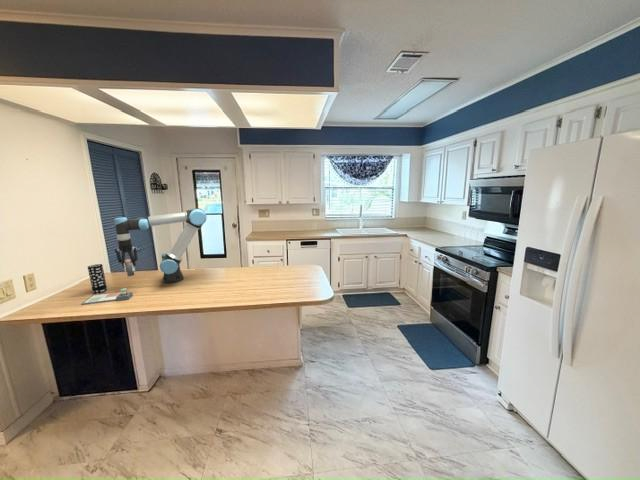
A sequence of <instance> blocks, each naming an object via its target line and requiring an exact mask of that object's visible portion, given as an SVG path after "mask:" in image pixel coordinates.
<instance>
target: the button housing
mask: <svg viewBox="0 0 640 480" xmlns="http://www.w3.org/2000/svg"><path fill="white" fill-rule="evenodd" d="M126 294H127V295H122V293H120V294H119V295H118V296H117V297H116V299H117V301H116V302H121V301H129V300H131V299H132V298H133V296H134V294H133V291H126Z"/></svg>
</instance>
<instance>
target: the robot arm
mask: <svg viewBox="0 0 640 480" xmlns="http://www.w3.org/2000/svg"><path fill="white" fill-rule="evenodd" d="M206 221H207V213H206V212H205V210H203V209H202V208H200V207H199V208H198V207H197V208H192V209H188V210H184V211H182V212H174V213H166V214H160V215H159V214H158V215H151V216H149V215H148V216H139V217H137V218H136V219H128V218H127V217H125V216H124V217H116V218H114V219H113V222H114V223H113V224H114V229H115V234H116V239H117V244H118V247H117V248H115V249H114V252H115V253H116V258H117V261H118V263H120V264H121V266H122V268H124V272H125V273H127V270H126V264H125V259H126V253H127V254H128V256H129V259H131V260H132V262H131V265H132V271H134V272H135V271H136V266H137V265H136V262H137V261H138V260H139V257H138V252H137V250H138V247H137V246H136V247H135V246H133V244H132V239H131V234H130V232H131V231H142V230H148V229H149V228H150V227H154V226H160V225H161V226H162V225H169V224H176V223H184V222H185V226H184V228H183V229H182V231H181V232H180V234H179V236H178V237H177V240H176V241H175V243H174V244H173V246H172V248H171V249H170V251H169V252H164V253H162V254H161V262H160V264H159V270H160V271H161V272H162V273H163V276H162V283H164V284H172V283H177V282H180V281H183V280H184V279H185V277H184V276H185V275H184V274H183V272H182V270H181V265H180V264H181V263H182V261H183V258H182V257H183V255H184V253H185V252H186V250H187V248H188V246H189V244H190V243H191V241H192V240H193V238H194V236H195V234H196V233H197V231H198V230H201V228H202V226H203V225H204V224H205V223H206ZM132 250H133V251H132ZM120 252H121V253H120ZM183 278H184V279H183ZM182 279H183V280H182Z"/></svg>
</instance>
